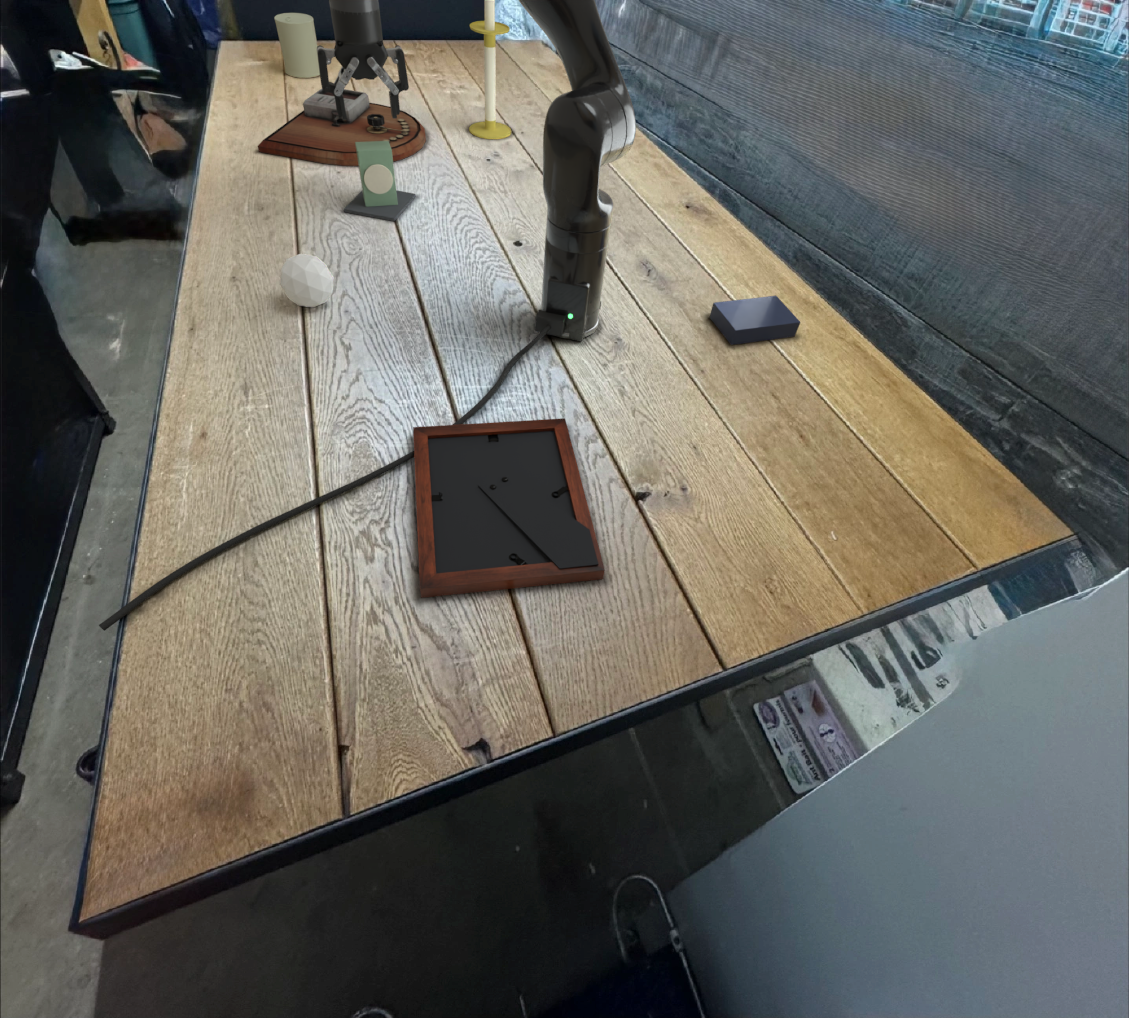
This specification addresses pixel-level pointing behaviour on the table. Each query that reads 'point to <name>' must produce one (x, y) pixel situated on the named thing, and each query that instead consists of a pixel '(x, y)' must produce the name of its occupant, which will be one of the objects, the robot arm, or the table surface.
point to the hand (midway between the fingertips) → (369, 117)
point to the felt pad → (380, 207)
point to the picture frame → (501, 508)
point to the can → (298, 44)
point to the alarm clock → (376, 173)
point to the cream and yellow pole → (490, 75)
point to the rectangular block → (754, 319)
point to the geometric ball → (306, 280)
